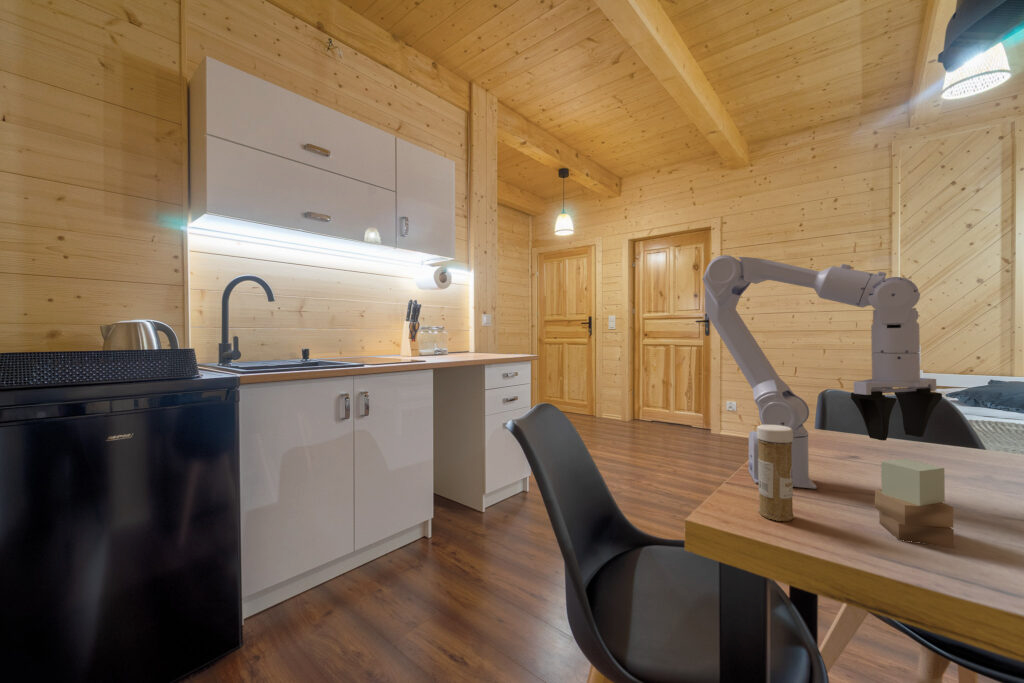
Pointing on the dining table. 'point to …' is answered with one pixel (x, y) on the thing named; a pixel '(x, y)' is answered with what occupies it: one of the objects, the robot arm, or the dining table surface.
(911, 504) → the tower top
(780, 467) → the sprinkles bottle
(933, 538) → the tower bottom
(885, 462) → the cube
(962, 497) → the dining table surface
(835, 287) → the robot arm
